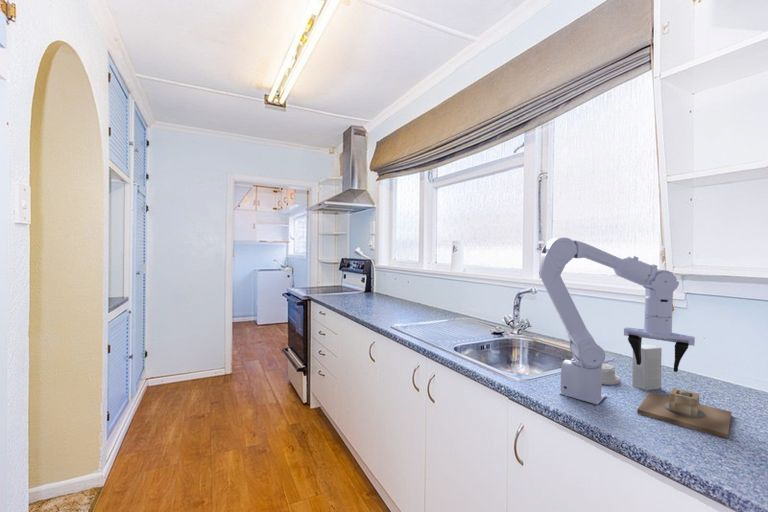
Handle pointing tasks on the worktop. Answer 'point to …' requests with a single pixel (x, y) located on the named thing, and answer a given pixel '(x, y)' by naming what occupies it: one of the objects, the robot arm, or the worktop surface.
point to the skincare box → (648, 368)
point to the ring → (684, 402)
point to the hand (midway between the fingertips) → (656, 367)
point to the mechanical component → (609, 375)
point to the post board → (705, 420)
